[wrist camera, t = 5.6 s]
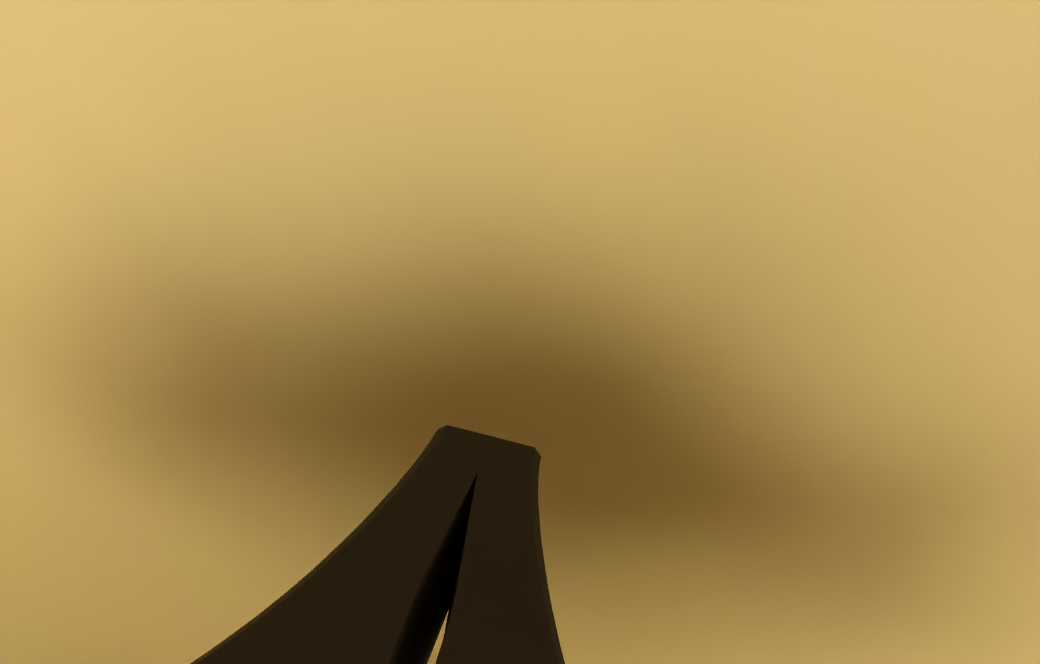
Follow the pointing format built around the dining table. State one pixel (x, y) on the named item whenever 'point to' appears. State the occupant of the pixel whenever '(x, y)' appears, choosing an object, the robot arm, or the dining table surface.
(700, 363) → the dining table surface
